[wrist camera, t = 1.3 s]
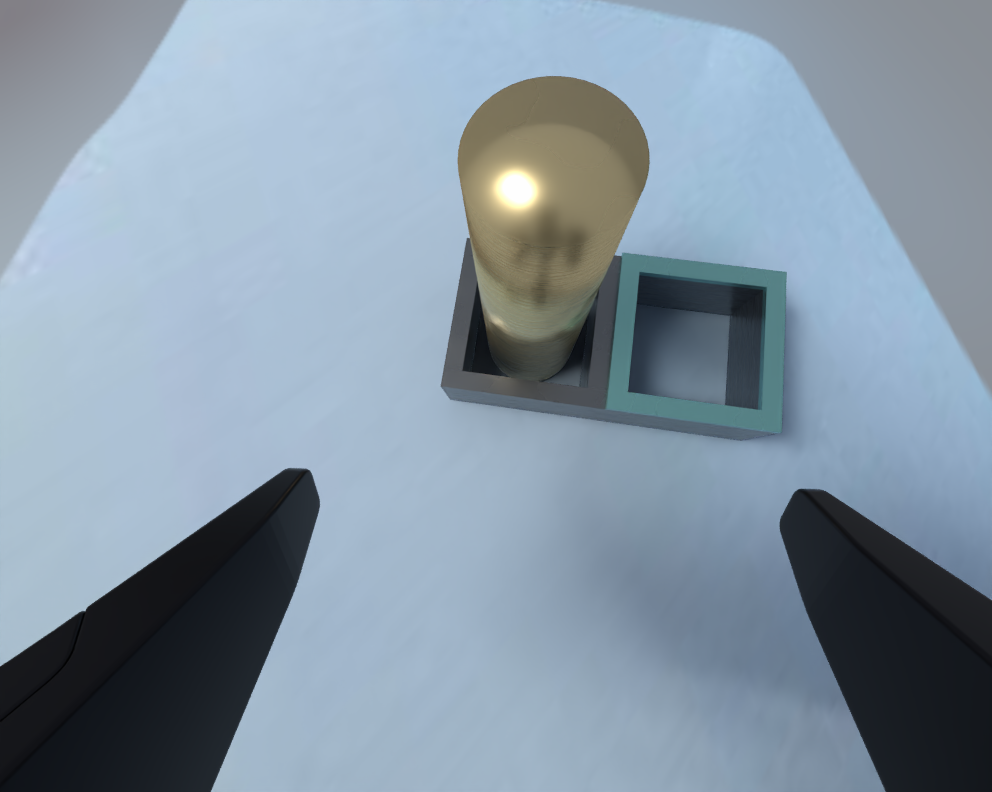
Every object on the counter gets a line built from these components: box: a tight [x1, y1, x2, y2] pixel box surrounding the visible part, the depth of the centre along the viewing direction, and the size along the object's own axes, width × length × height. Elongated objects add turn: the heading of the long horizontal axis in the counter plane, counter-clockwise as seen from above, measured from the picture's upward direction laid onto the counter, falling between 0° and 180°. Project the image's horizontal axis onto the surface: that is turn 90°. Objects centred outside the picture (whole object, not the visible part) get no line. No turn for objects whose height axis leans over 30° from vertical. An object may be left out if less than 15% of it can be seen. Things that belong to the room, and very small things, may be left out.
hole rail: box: [441, 238, 787, 441], centre depth 21 cm, size 14×7×3 cm, turn 81°
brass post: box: [458, 76, 649, 381], centre depth 16 cm, size 4×4×13 cm
